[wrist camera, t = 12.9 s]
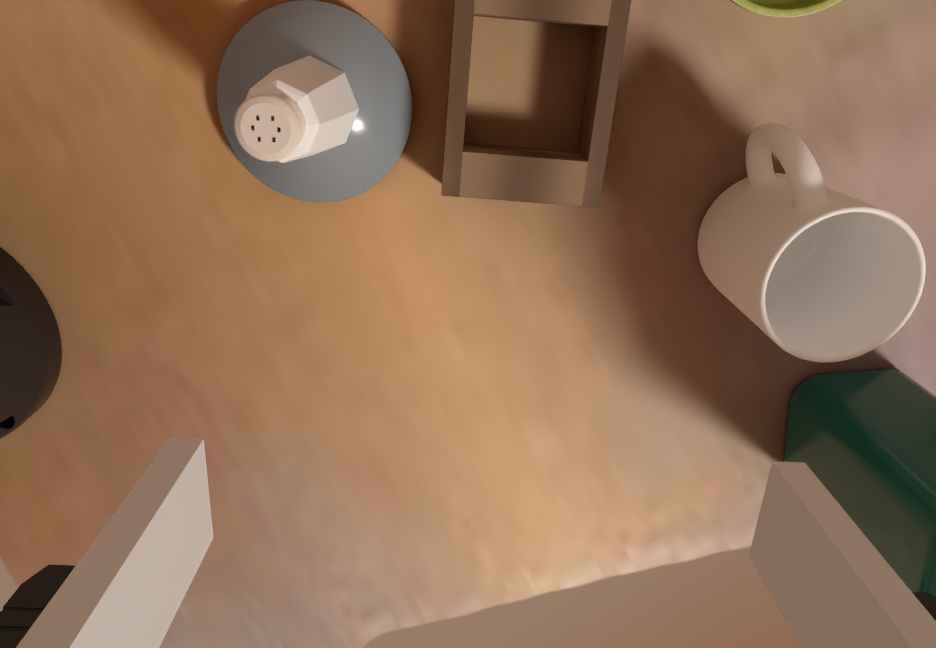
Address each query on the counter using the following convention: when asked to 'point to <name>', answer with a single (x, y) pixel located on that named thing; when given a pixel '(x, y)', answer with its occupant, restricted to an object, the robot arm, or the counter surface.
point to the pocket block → (536, 170)
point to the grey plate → (370, 77)
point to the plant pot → (784, 7)
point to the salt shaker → (296, 112)
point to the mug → (809, 255)
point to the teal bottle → (874, 460)
